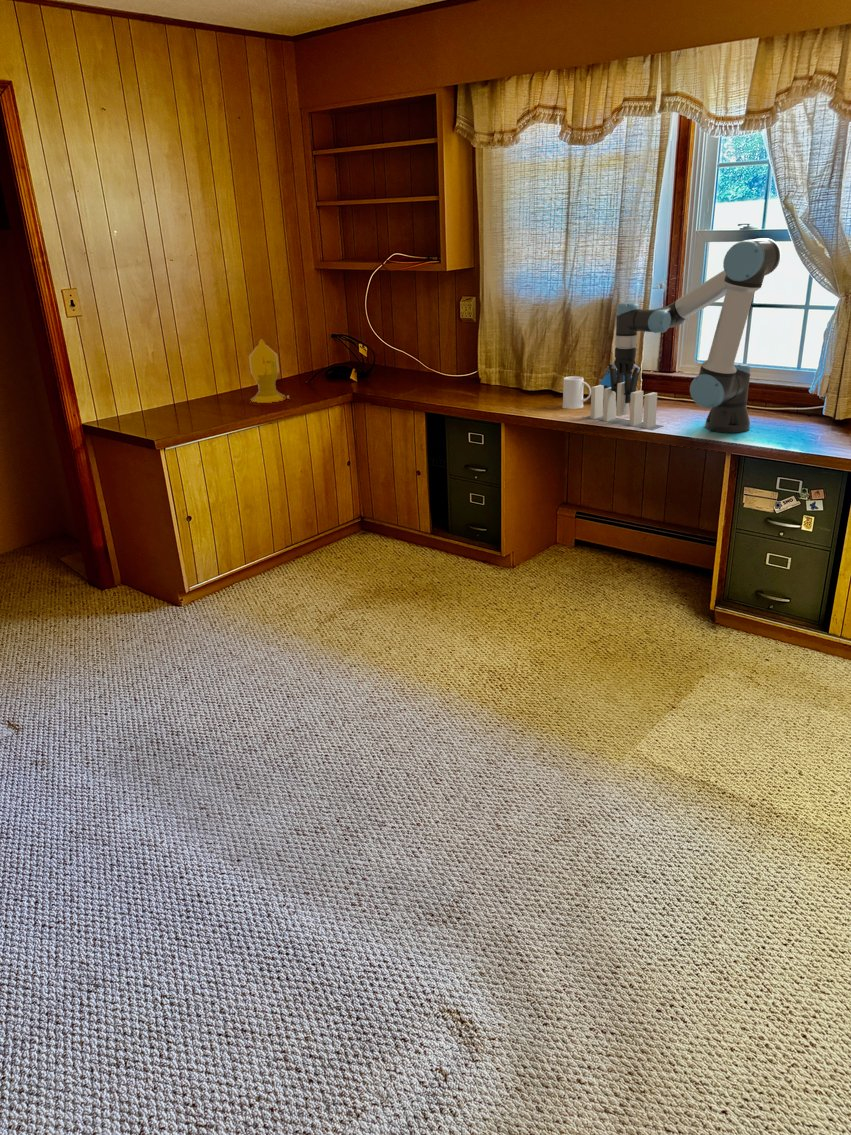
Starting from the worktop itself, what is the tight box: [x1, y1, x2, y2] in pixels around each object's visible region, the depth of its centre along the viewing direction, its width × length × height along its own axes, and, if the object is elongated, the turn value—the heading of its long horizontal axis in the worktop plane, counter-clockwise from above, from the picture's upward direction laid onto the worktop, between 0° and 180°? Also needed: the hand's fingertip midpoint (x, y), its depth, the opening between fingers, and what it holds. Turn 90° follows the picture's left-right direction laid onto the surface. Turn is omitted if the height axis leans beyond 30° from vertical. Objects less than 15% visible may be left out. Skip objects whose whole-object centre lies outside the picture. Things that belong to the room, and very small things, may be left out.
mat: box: [582, 414, 665, 431], centre depth 316 cm, size 32×8×1 cm, turn 41°
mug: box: [562, 375, 591, 410], centre depth 341 cm, size 12×8×12 cm
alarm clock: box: [599, 366, 632, 405], centre depth 344 cm, size 13×6×15 cm, turn 55°
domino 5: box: [642, 391, 658, 428], centre depth 305 cm, size 2×5×12 cm, turn 132°
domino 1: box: [590, 384, 604, 419], centre depth 322 cm, size 2×5×12 cm, turn 132°
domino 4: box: [629, 389, 644, 426], centre depth 309 cm, size 2×5×12 cm, turn 131°
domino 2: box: [603, 387, 617, 421], centre depth 318 cm, size 2×5×12 cm, turn 131°
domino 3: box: [615, 382, 630, 417], centre depth 313 cm, size 2×5×12 cm, turn 131°
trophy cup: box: [248, 338, 290, 403], centre depth 378 cm, size 18×24×28 cm
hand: (622, 410), depth 315 cm, fingers closed on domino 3, 2 cm apart
